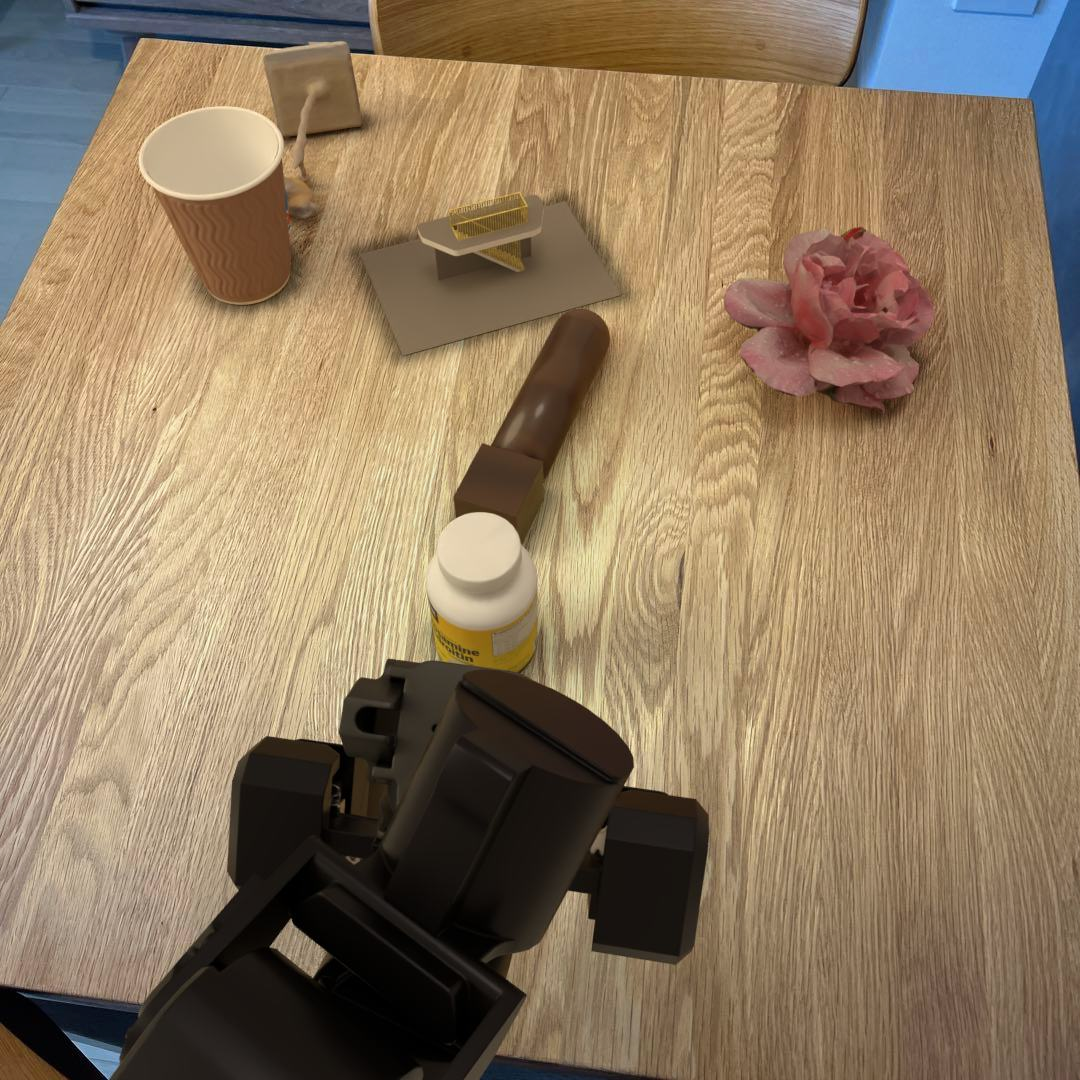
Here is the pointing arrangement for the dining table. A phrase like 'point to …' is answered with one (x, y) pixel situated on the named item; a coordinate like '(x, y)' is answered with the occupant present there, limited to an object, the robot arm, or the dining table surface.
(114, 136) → the dining table surface
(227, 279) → the coffee cup
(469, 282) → the platform
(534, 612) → the pill bottle
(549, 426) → the walnut leg
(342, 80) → the decorative sculpture
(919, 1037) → the dining table surface
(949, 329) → the dining table surface
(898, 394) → the flower
